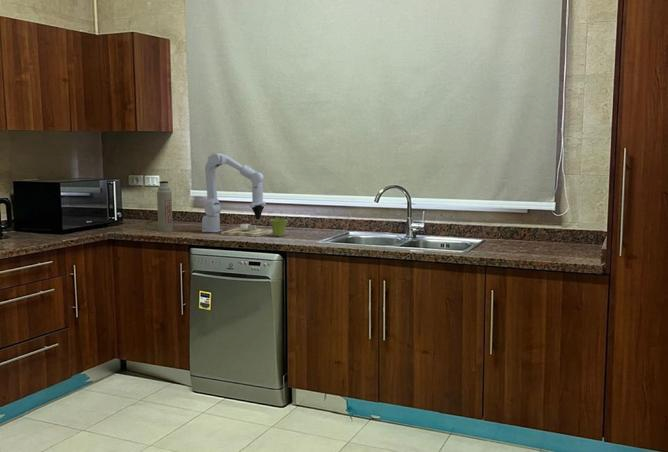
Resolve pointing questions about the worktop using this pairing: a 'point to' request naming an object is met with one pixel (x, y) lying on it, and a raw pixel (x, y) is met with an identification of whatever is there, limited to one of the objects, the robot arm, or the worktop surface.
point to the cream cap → (247, 227)
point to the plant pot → (278, 226)
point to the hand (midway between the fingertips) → (258, 219)
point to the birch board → (246, 232)
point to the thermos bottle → (164, 207)
